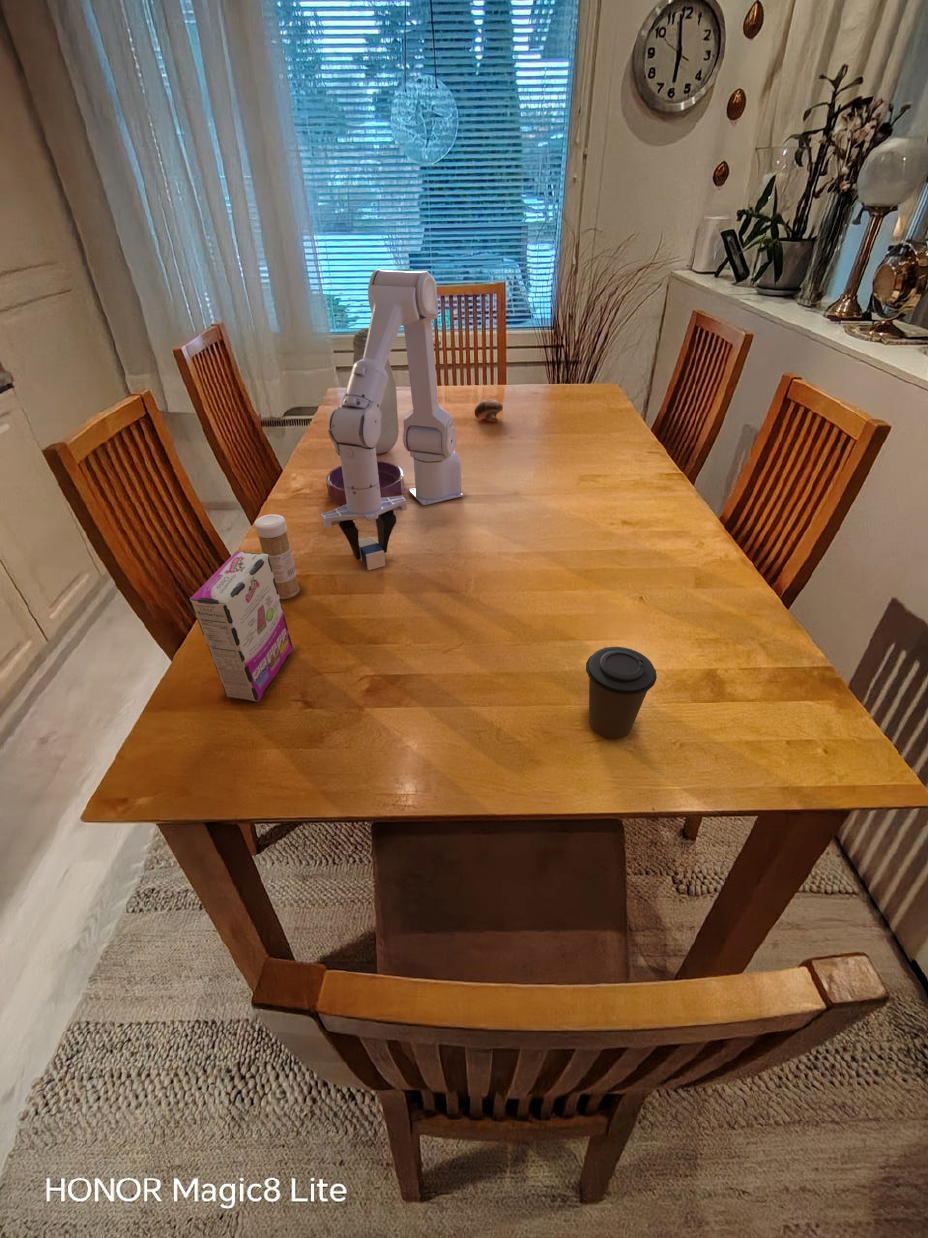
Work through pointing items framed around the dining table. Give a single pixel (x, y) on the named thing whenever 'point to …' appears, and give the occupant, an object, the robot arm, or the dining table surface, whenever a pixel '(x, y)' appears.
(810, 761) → the dining table surface
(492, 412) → the mushroom
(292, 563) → the sprinkles bottle
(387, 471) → the bowl
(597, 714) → the coffee cup
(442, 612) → the dining table surface
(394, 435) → the white tall rounded piece
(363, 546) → the eraser
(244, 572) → the candy bar box
